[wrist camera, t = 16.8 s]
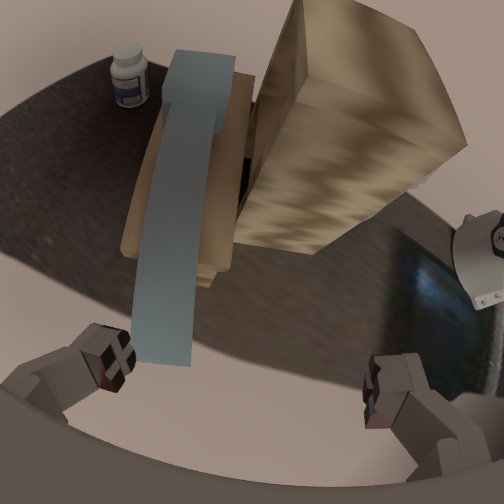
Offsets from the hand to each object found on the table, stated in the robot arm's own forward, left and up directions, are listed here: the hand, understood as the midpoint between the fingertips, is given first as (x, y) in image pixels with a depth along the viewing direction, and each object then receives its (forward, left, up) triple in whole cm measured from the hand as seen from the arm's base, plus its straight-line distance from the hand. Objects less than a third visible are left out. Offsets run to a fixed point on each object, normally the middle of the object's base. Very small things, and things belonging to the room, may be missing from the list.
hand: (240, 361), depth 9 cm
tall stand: (-7, -19, -25) cm, 32 cm away
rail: (+4, -10, -11) cm, 16 cm away
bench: (+3, -16, -25) cm, 30 cm away
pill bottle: (+16, -33, -25) cm, 45 cm away
